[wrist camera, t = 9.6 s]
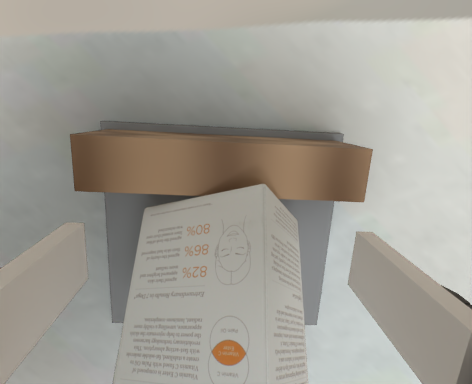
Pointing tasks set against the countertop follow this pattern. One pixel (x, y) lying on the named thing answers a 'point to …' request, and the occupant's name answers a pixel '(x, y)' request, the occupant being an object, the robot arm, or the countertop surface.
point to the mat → (133, 205)
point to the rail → (218, 165)
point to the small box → (216, 294)
